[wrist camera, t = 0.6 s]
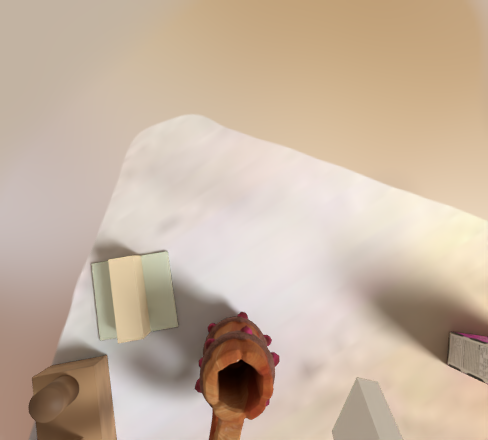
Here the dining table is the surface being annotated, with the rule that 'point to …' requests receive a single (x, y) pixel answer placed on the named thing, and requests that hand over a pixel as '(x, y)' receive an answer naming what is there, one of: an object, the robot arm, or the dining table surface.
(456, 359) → the candy bar box
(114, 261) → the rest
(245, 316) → the mug
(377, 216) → the dining table surface
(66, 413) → the wooden peg board
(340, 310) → the dining table surface
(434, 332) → the dining table surface
